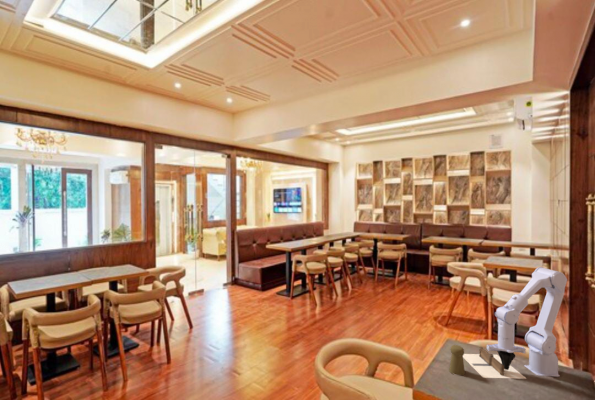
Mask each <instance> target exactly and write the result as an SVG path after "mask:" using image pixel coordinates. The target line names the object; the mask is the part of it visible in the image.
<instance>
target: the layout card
mask: <svg viewBox="0 0 595 400" xmlns="http://www.w3.org/2000/svg"><path fill="white" fill-rule="evenodd" d="M493 357H494V358H495V359H496V360H498V361H499V362H500V363H501V364H502V362H501V359H500V356H499V354H493ZM463 360H465V361H466V362H467V363H468V364H469V365H470V366H471V368H473V369H474V370H475V371H476V372H477V373H478V374H479V375H480V376H481V377H482V378H484V379H519V380H521V379H522V380H523V379H525V380H526V379H527V378H526V376H524V375H523V374H522V373H520V371H518V370H517V369H516V368H515V367H513V366H512V365H511V364H510V367H509V370H505V369H504V375H500V373H499V372H498V371H496V370H495V369H494V368H493V367H492V366H490V365H489V364H488V363H487V362H486V361H485V360H484V359H483V358H482V357H480V356H479V353H477V354H476V353H464V355H463Z"/></svg>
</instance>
